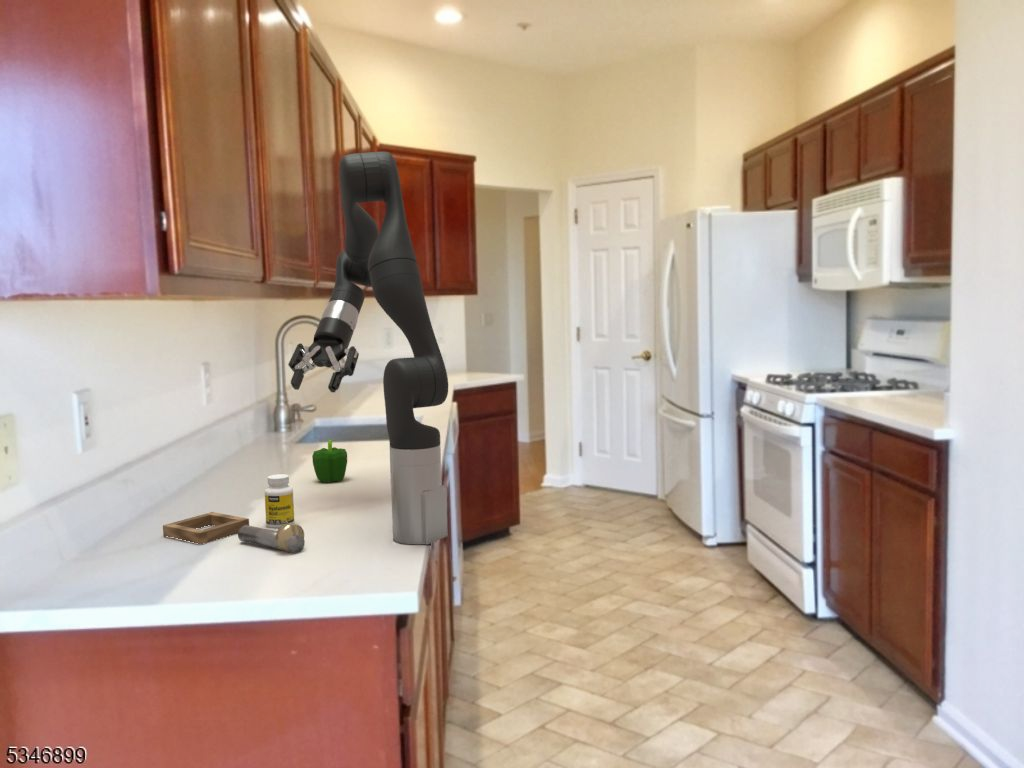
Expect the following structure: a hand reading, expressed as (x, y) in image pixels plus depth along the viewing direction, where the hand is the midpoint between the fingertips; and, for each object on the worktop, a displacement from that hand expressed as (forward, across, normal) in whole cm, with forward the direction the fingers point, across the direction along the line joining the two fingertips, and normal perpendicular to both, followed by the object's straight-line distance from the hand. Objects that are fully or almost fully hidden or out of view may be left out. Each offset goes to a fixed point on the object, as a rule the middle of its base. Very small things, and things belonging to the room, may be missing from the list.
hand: (312, 389), depth 162 cm
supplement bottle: (+27, -1, +8) cm, 28 cm away
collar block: (+33, -12, +1) cm, 35 cm away
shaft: (+35, +6, -3) cm, 36 cm away
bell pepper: (+4, -11, +38) cm, 40 cm away
